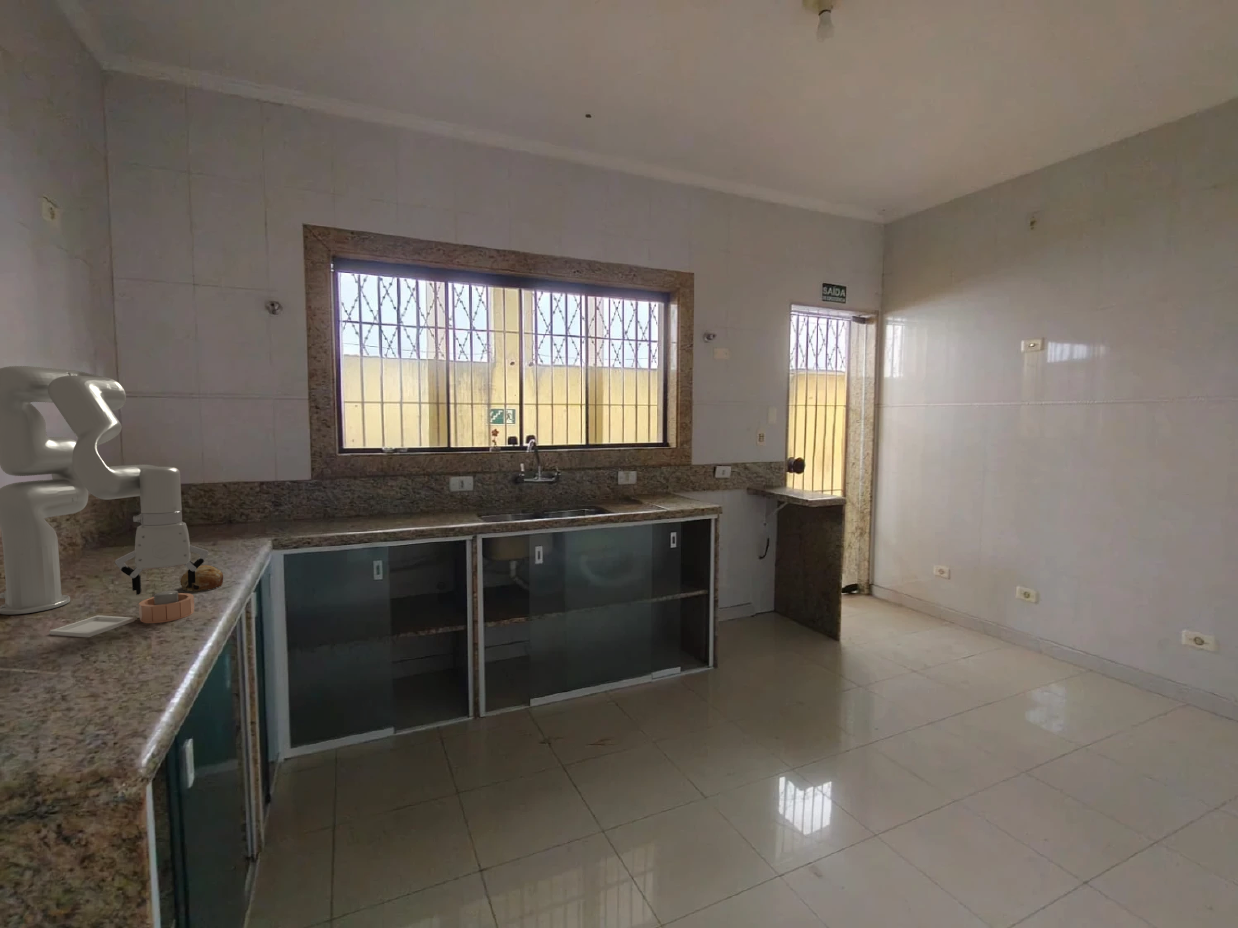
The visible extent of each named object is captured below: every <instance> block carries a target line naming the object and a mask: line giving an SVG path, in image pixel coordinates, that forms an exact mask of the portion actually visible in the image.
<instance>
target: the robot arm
mask: <svg viewBox="0 0 1238 928" xmlns="http://www.w3.org/2000/svg"><path fill="white" fill-rule="evenodd" d="M126 401H127V393H126V391H125V389H124V387H123V385H121V384H120V383H119V382H118V381H117V380H115V379H113V378H111V377H108V376H102V375H97V374H93V373H89V372H84V371H80V370H73V369H65V368H63V369H62V368H49V367H42V366H41V367H39V366H29V365H28V366H25V365H24V366H23V365H13V366H12V365H11V366H4V367H0V468H1V470H2V471H3V473H4V474H5V475H6V474H7V475H9V476H14V477H31V476H43V475H44V476H45V475H51V478H52V479H44V480H43V479H41V480H40V479H38V480H27V481H19V482H13V483H8V484H6V485H4V486H1V487H0V532H1V541H2V552H3V553H2V555H3V563H4V565H3V566H4V577H5V590H4V592H0V599H4V601H5V602H4V604H1V605H0V614H1V615H22V614H30V613H37V612H43V611H47V610H48V611H49V610H52V609H56V608H59V607H62V606H65V605H67V604H69V603H70V601H71V596H69V595H67V594H62V583H61V569H60V555H59V554H60V553H59V541H58V534H57V531H56V530H55V529H54V527H53V526H52V525H50V524H49V523H48V521H46V519H47V518H51V517H58V516H66V515H72V514H76V513H78V512H79V513H80V512H81V511H82V510H84V509H85V508H86V506H87V504H88V501H89V493H90V494H91V495H92V496H94V497H95V498H98V499H100V500H106V501H107V500H109V501H110V500H115V499H116V500H117V499H118V500H119V499H125V498H134V497H140V499H139V500H140V514H137V515H132V516H133V517H132V520H133V522H137V523H140V525H139V526H137V527H136V531H135V533H136V534H135V538H134V539H135V541H134V542H135V543H134V550H133V551H131V552H128V553H126V554H124V555H122V556H120V557H118V558H117V559H115V560H114V563H115V564H116V566H117V567H118V568H119V570H120V571H121V572H122V573H123V574H125V575H126V576H129V577H130V578H131V586H132V588H131V590H132V591H133V592H135V593H136V594H135V595H136V596H138V595H140V594H141V593H142V580H141V579H142V578H141V577H142V576H141V575H140V574H141V573H142V571H144V570H154V569H165V568H175V567H181V566H184V567H185V568H187V571H188V587H189V588H192V583H195V570H196V569H197V568H198V567H199V566H202V565H203V564H204V562H205V560H206V558H207V557H208V555H209V553H210V552H209V550H207V549H205V548H201V547H197V546H196V545H195V546H194V545H191V544H190V534H189V530H188V526H187V523H186V522H184V521H183V513H182V512H183V511H182V510H183V509H182V508H183V507H182V487H181V486H182V484H181V472H180V469H178V468H177V467H173V466H156V465H152V464H144V463H143V464H132V465H131V464H130V465H129V464H127V465H126V464H124V465H115V466H113V465H112V466H108V465H107V463H105V461H104V460H103V459H102V457H101V455H100V454H99V452H98V446H100V445H103V444H105V443H107V442H109V441H111V440H113V439H114V438H116V437H117V436H119V434H120V433H121V431H122V429H123V427H122V426H123V425H122V423H121V422H120V421H119V419H118V418H117V416H116V415H115V413H114V411H118V410H120V409H122V408H123V407H124V406H125V404H126V403H127V402H126ZM34 402H35V403H51V404H52V403H53V404H54V405H55V408H56V409H57V410H58V411H59V413H60V415H61V416H62V418H63V419H64V420H65V422H66V423H67V425H68V426H69V427H70V429H71V430H72V433H74V435H75V437H76V438H77V440H75V439H73V438H71V437H65V436H48V435H47V427H46V425H47V424H46V419H45V417H44V416H43V414H42V412H40V411H39V409H38V408H36V406H35V405H33V404H32V403H34ZM191 553H195V554H197V555H199V558H197V559H196V560H195V561H194V562H193V561H192V560H191ZM131 559H134V561H135V562H134V563H135V568H131V567H130V566H128V565H127V564H126V562H128V561H130V560H131Z"/></svg>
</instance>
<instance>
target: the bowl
mask: <svg viewBox="0 0 1238 928" xmlns="http://www.w3.org/2000/svg"><path fill="white" fill-rule="evenodd" d="M178 600H179V601H178V602H174V603H169V604H162V605H155V604H154V596H152V597H149V598H146V599H143V600H141V601H140V602H139V603H138V617H139V618H138V619H140V622H141V623H145V624H158V623H168V622H171V621H172V622H173V621H176V620H177V621H178V620H180V619H183V618H187V617H190V616H191V615H192V614H193V613H194V612H195V596H194V595H193V594H192V593H190V592H188V593H187V592H186V593H185V592H184V593H183V592H178Z"/></svg>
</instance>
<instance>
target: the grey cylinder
mask: <svg viewBox="0 0 1238 928" xmlns="http://www.w3.org/2000/svg"><path fill="white" fill-rule="evenodd" d="M178 593H179V591H178V590H165V591H164V590H163V591H161V592H160V591H159V592H157V593H155V594H153V597H154V604H155V605H162V604H169V603H174V602H178V601H179V600H178Z"/></svg>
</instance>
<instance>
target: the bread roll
mask: <svg viewBox="0 0 1238 928" xmlns="http://www.w3.org/2000/svg"><path fill="white" fill-rule="evenodd" d="M223 583H224V573H223V572H222V570H220V569H218V568H217V567H214V566H212V565H206V564H204V565H203V564H201V565H200V566H199V567H198V568H197V569H196V570H195V583H192V588H189V587H188V570H187V571H186V572H184V573H183V574H182V576H181V577H180V586H181V589H182V590H183V591H184V590H185V591H184V592H187V591H191V592H202V591H209V590H208V589H211V590H214V589H213V588H215V589H217V588H216V587H218V588H220V587H222V585H223ZM219 586H220V587H219ZM201 590H202V591H201Z"/></svg>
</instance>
